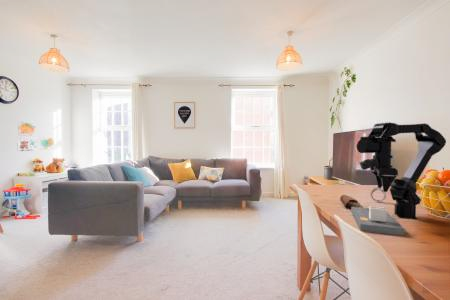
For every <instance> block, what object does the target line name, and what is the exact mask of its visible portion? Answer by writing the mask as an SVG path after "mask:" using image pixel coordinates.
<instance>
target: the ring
mask: <svg viewBox="0 0 450 300" xmlns="http://www.w3.org/2000/svg"><path fill="white" fill-rule="evenodd" d="M376 191H380V192H382V193H383V195H384V196H383V198H382V199H375V198H374V196H373V194H374V193H375V192H376ZM386 193H387V192H384V191H383V188H382V187H381V188H378V186H376V187H374V188H373V189H372V190H371V192H370V197H371V199H372V200H373V201H375V202H377V203H380V202H383V201H385V200H386V198H387V194H386Z"/></svg>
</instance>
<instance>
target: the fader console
mask: <svg viewBox="0 0 450 300" xmlns="http://www.w3.org/2000/svg"><path fill="white" fill-rule="evenodd" d="M350 212H351V216H352V217H353V219H354V221H355V223H356V224H357V227H358V229H359V230H361V231H360V232H367V233H375V234H377V233H378V234H385V235H392V234H393V236H394V235H395V236H401V237H403V236H404V235H405V234H404V232H405V231H404V229H405V228H404V227H403V226H402V225H401V224H400V223H399V222H398V221H397V220H396V219H395V218H394V217H393V216H392V215H391V214H390V213H389V212H388V211H387V212H386V222H382V221H372V220H370V219H369V207H363V206H362V207H351V209H350Z"/></svg>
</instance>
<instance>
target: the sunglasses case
mask: <svg viewBox="0 0 450 300" xmlns="http://www.w3.org/2000/svg"><path fill="white" fill-rule="evenodd" d="M339 201H341V203H342V204H343V206H344V207H345V208H346V210H351V207H362V208H363V206H362V205H361V204H360V202H359V200H357V199H355V198H353V197H352V196H349V195H347V194H342V195H341V196H340V198H339Z"/></svg>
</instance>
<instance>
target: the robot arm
mask: <svg viewBox="0 0 450 300" xmlns="http://www.w3.org/2000/svg"><path fill="white" fill-rule="evenodd" d="M399 134H414V136H415V140H416V141H417V142H418V144H417V148H418V151H417V153H416V155H415V157H414V158H413V159H412V161H411V162H410V165H409V167H408V168H407V169H406V171H405V173H404V175H402V177H401V178H397V176H399V170H398V169H397V168H395V167H393V165H392V159H393V155H392V143H396V142H397V140H396V139H395V138H393V136H397V135H399ZM446 143H447V140H446V138H445V137H444V136H443V134H442V133H440V131H438V130H436V129H434V128H432V127H431V126H430V125H429V124H428V123H416V124H415V123H414V124H413V123H411V124H398V123H395V122H381V123H375V124H374V125H373V127H372V129H371V131H370V132H369V134H368V135H367V136H360V139H359V140H358V141H357V144H356V149H357V152H359V153H360V154H374V155H372V158H370V159H369V158H367V159H363V161H359V166H360V169H361V170H363V171H366V170H367V169H369V171H370V172H371V174H373V175H374V178H375V181H376V184H377V187H378V188H381V189H382V190H383V191H384V192H385V193H387V192H388V191H389V192H390V195H391V199H392V200H393V201H395V203H394V208H393V209H394V214H395V215H396V216H397V217H398V218H404V219H414V220H416V219H418V217H417V215H416V214H417V205H420V204H421V201H422V199H421V197H419V195H418V194H417V189H418V188H417V182H418V181H419V179H420V177H421V176H422V174H423V172H424V170H425V169H426V167H427V165H428V164H429V162H430V160H431V158H432V157H433V156H434V155H436V154H438V153H439V152H441V151H442V150H443V149H444V147H446V146H445V145H446Z"/></svg>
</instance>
